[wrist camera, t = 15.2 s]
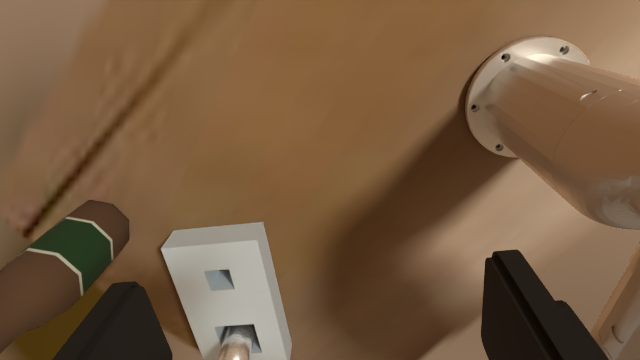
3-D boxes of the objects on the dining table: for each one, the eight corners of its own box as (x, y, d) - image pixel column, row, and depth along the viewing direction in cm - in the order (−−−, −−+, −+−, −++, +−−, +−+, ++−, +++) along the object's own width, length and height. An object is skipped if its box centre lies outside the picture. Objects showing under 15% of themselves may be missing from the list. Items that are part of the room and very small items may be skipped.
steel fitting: (256, 306, 55) (239, 367, 46) (261, 326, 57) (247, 389, 48) (229, 308, 56) (208, 368, 47) (235, 328, 57) (216, 390, 48)
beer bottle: (121, 257, 52) (-32, 441, 31) (65, 230, 51) (-137, 404, 29) (142, 217, 49) (-11, 390, 28) (84, 186, 48) (-127, 345, 26)
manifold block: (263, 221, 49) (257, 239, 45) (292, 344, 58) (288, 367, 55) (173, 230, 50) (160, 248, 46) (216, 349, 59) (208, 372, 56)
